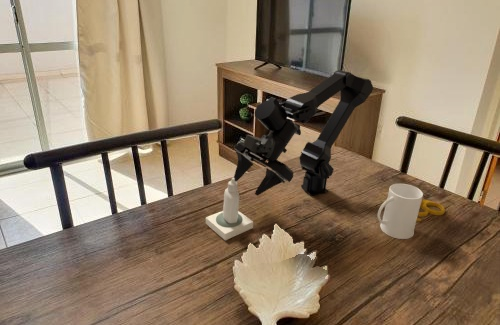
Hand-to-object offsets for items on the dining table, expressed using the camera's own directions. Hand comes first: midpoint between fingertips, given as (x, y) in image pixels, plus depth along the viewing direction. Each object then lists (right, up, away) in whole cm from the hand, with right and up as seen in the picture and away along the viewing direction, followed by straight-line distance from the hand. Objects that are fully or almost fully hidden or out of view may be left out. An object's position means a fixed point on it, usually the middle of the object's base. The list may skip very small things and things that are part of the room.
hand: (244, 187), depth 97 cm
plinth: (-4, -10, +1) cm, 11 cm away
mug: (+39, -12, +2) cm, 41 cm away
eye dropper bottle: (-4, -8, +1) cm, 9 cm away
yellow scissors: (+50, -8, +11) cm, 52 cm away
